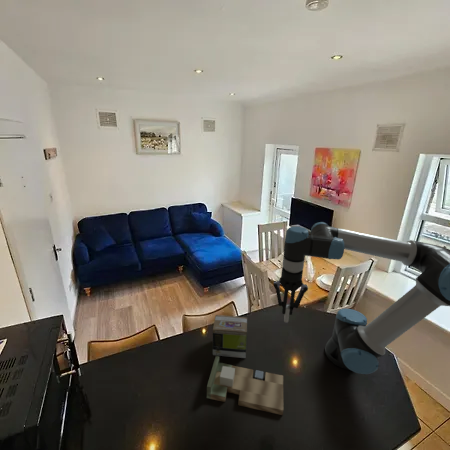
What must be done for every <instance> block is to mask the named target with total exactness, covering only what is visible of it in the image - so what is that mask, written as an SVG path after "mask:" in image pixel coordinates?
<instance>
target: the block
mask: <svg viewBox="0 0 450 450" xmlns="http://www.w3.org/2000/svg"><path fill="white" fill-rule="evenodd" d="M254 379H258V380H263V381H264V371H263V370H257V369H256V370H255V373H254Z"/></svg>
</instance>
